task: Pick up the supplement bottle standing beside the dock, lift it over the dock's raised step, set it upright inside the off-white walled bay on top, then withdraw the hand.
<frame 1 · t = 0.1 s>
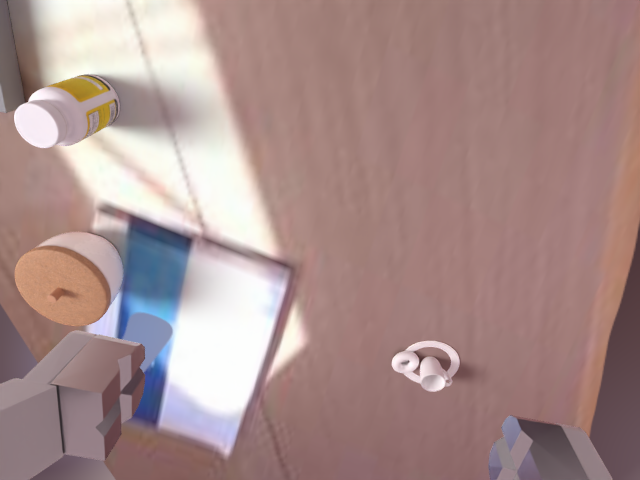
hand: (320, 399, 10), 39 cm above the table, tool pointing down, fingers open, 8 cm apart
lidded jar: (97, 253, 57), on the table
supplement bottle: (97, 100, 47), on the table
white cup and donut: (423, 342, 60), on the table
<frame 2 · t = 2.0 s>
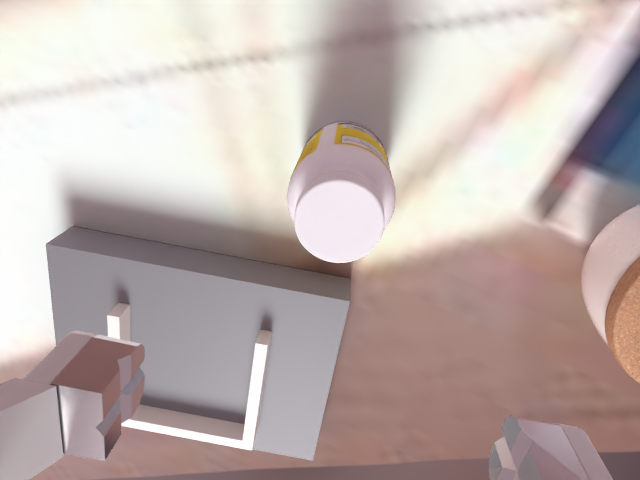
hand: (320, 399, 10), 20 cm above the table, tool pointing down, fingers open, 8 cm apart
lidded jar: (639, 249, 29), on the table
supplement bottle: (344, 163, 28), on the table
dock: (205, 337, 35), on the table
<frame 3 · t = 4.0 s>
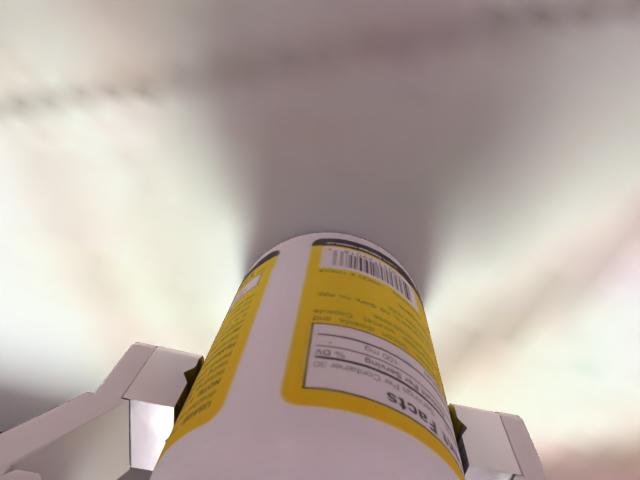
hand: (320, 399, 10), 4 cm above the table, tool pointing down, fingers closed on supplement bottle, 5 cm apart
supplement bottle: (331, 307, 13), on the table, touching gripper
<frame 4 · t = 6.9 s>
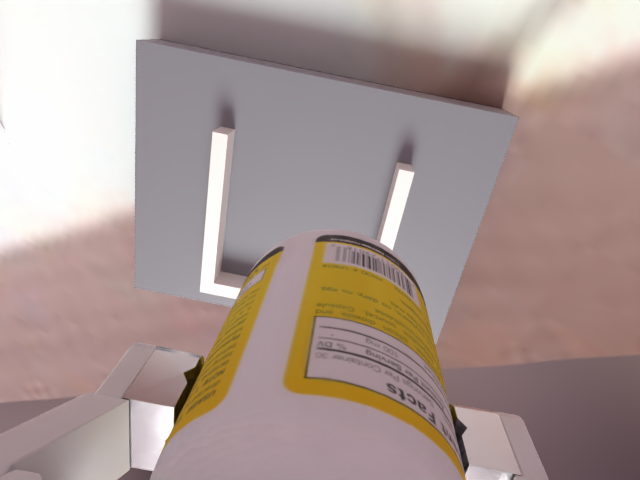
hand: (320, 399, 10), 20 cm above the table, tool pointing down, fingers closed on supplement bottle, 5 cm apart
supplement bottle: (334, 303, 14), point 16 cm above the table, touching gripper
dock: (309, 196, 29), on the table
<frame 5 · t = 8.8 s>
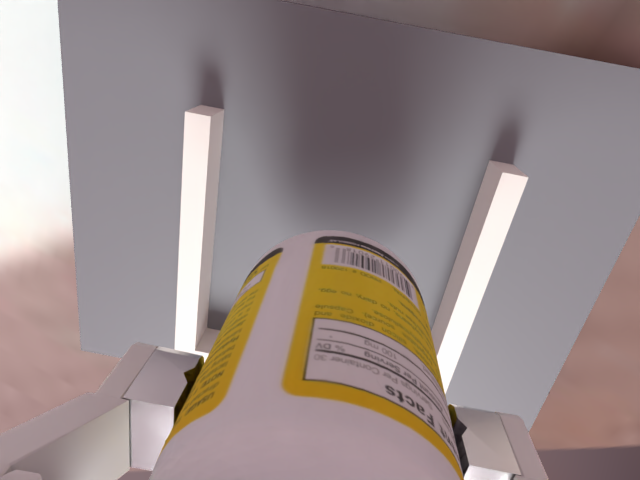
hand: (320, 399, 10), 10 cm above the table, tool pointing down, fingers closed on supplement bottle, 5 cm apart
supplement bottle: (333, 304, 14), point 6 cm above the table, touching gripper
dock: (338, 213, 19), on the table
when the fingers open (8 cm above the table, at t = 10.2 s): supplement bottle drops 1 cm, resting on dock.
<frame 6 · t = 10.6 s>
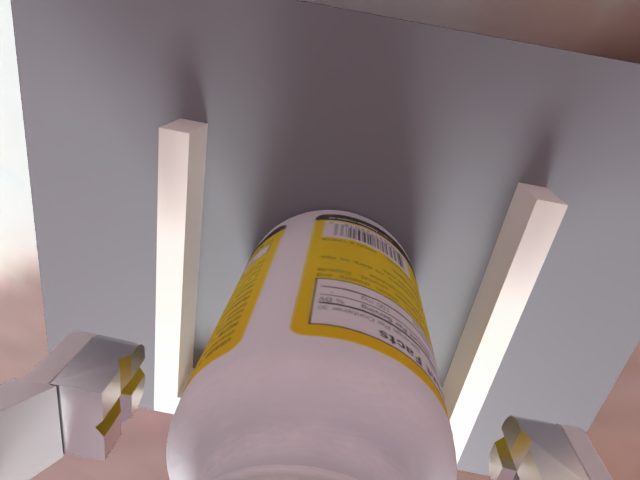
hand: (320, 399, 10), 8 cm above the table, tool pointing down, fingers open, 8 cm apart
supplement bottle: (332, 280, 15), point 3 cm above the table, touching dock
dock: (340, 236, 17), on the table
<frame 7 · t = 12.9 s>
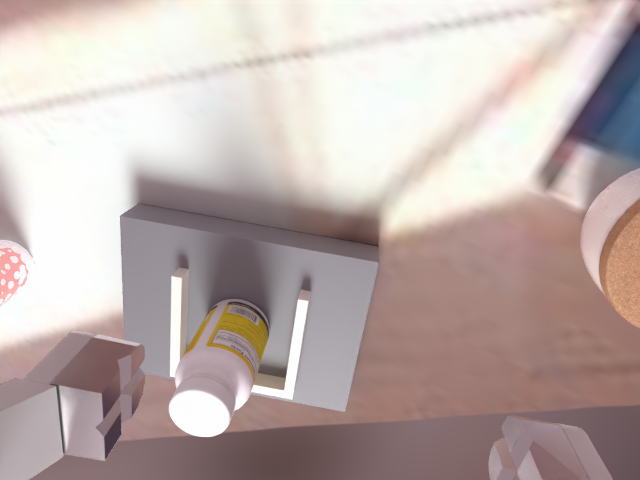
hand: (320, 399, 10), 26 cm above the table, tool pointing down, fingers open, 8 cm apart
beverage cup: (13, 262, 41), on the table
lidded jar: (631, 215, 33), on the table
supplement bottle: (239, 323, 37), point 3 cm above the table, touching dock
dock: (249, 302, 40), on the table
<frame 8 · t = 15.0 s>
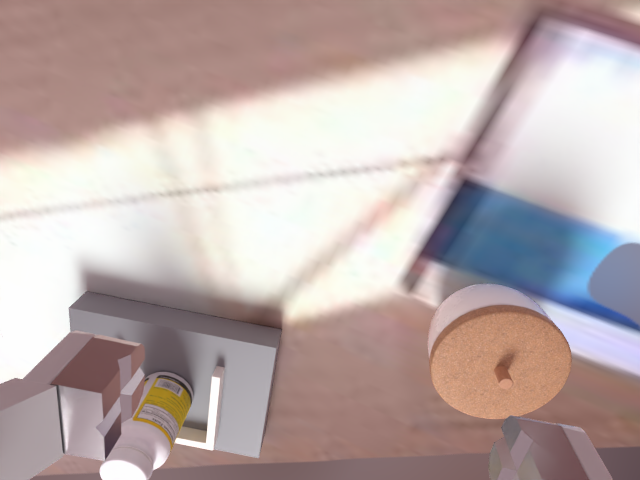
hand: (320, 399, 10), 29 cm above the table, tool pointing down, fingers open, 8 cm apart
lidded jar: (476, 312, 42), on the table
supplement bottle: (169, 389, 46), point 3 cm above the table, touching dock
dock: (181, 368, 48), on the table
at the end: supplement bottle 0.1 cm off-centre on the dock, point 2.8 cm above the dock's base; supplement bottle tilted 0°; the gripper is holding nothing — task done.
